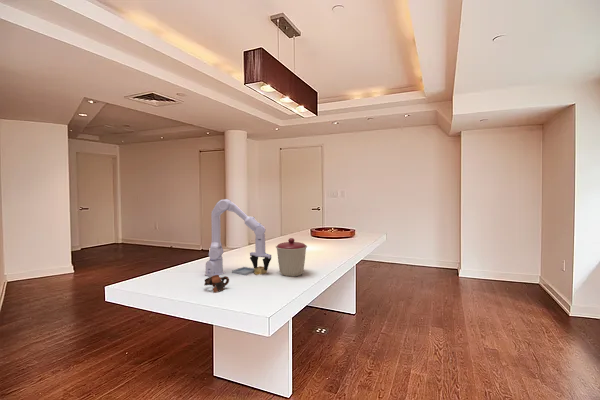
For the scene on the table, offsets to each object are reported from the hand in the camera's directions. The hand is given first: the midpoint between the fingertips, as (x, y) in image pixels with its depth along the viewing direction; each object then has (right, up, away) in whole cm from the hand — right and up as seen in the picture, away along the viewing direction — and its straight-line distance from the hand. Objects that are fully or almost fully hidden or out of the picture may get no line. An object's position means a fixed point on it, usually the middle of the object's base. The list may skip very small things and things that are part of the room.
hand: (260, 269), depth 189 cm
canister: (+18, -3, -1) cm, 18 cm away
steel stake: (0, -3, 0) cm, 3 cm away
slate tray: (-10, -3, +3) cm, 10 cm away
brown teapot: (-18, -4, -27) cm, 33 cm away
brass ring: (0, -2, 0) cm, 2 cm away
